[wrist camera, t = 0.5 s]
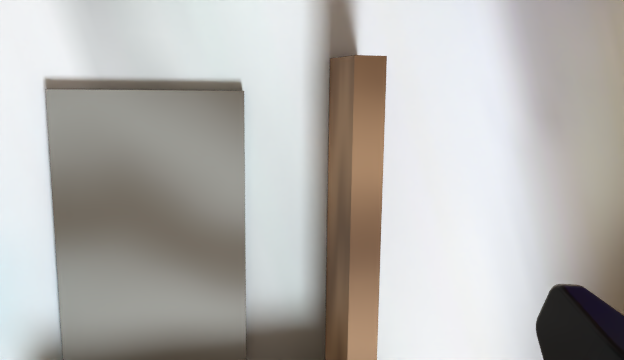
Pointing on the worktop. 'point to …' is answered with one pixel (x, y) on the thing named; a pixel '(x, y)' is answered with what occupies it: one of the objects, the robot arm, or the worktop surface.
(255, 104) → the worktop surface
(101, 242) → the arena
